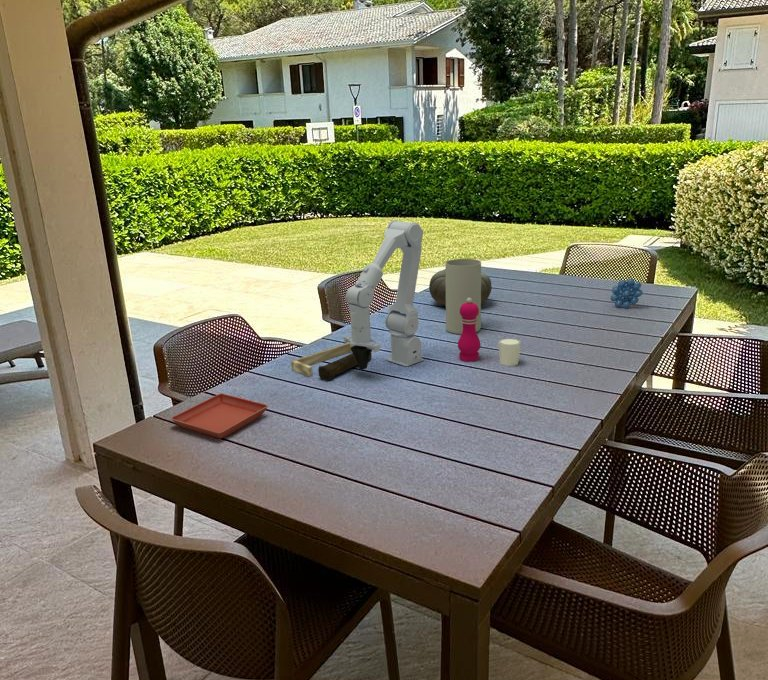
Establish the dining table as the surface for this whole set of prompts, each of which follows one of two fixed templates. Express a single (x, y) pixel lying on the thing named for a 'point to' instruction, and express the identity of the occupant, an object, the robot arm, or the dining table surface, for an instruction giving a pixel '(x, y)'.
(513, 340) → the cream cylinder
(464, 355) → the pepper mill
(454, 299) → the cylinder vase
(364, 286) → the robot arm
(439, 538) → the dining table surface
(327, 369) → the hand tool
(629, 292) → the grapes
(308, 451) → the dining table surface
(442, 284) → the gourd
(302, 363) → the beige bent bracket
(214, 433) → the plant saucer
